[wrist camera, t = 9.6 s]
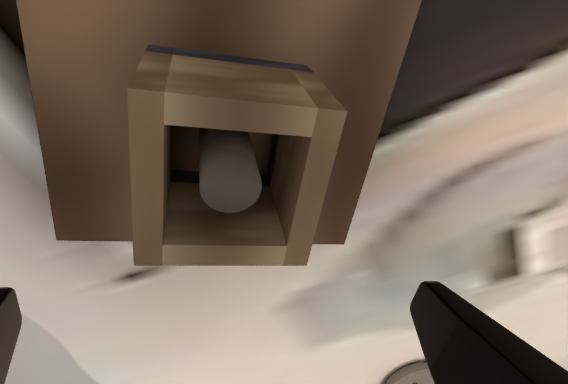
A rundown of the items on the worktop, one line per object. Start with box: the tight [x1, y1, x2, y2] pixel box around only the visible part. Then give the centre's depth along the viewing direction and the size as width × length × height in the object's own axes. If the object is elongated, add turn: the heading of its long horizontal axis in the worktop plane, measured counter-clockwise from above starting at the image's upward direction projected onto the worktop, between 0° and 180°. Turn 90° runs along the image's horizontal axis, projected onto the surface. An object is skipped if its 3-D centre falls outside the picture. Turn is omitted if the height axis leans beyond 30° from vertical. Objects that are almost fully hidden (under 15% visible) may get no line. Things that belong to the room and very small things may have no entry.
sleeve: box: [127, 44, 347, 265], centre depth 14 cm, size 6×6×5 cm
